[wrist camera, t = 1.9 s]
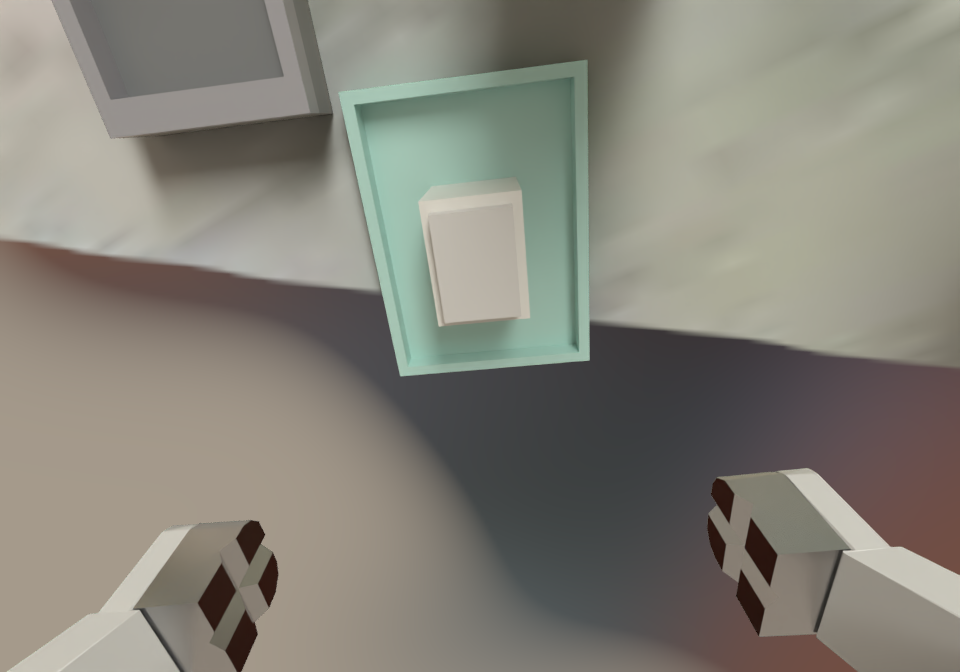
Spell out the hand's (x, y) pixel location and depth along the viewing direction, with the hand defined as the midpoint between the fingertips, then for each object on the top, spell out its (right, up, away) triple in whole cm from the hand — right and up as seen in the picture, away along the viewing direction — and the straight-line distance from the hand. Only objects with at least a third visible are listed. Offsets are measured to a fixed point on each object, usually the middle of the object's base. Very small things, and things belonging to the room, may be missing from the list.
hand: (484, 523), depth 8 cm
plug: (0, +9, +17) cm, 19 cm away
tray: (0, +9, +17) cm, 20 cm away
